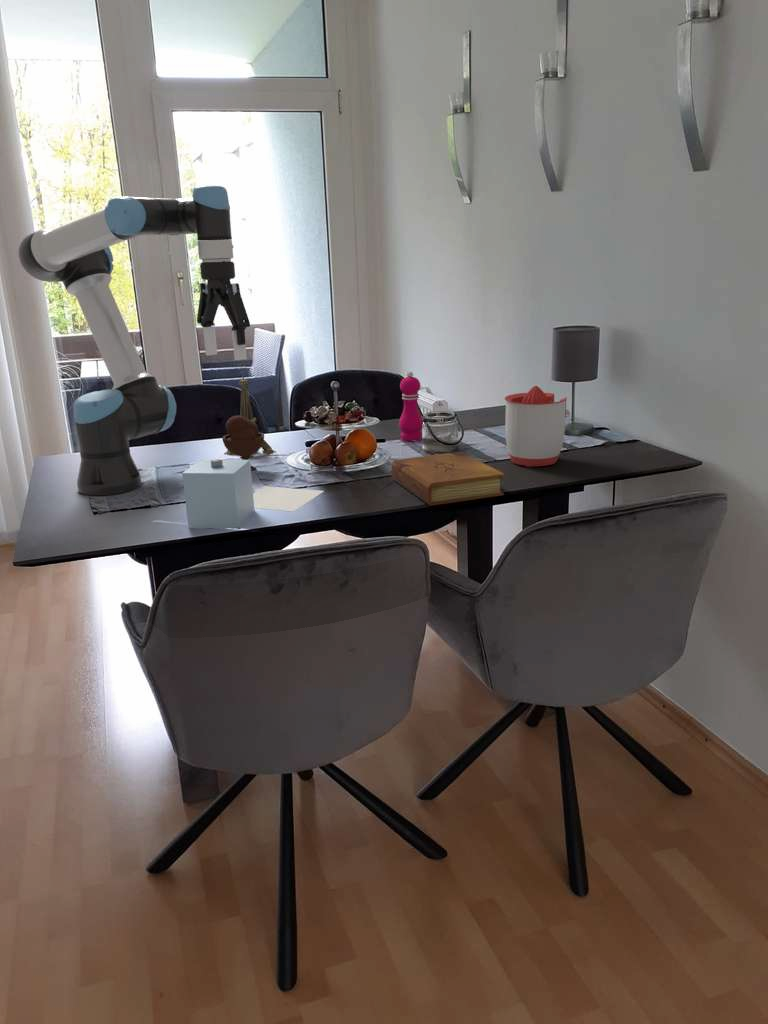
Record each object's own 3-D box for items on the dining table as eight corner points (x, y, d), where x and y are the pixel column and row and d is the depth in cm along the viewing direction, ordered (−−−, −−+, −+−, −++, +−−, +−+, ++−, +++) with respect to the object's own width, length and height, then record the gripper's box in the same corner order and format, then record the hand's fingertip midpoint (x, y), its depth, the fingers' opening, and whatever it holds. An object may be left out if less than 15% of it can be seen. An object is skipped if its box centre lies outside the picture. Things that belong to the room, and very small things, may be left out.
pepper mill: (400, 436, 245) (399, 369, 239) (424, 436, 244) (423, 369, 238) (397, 441, 238) (396, 373, 232) (422, 441, 237) (421, 373, 231)
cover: (188, 528, 170) (181, 467, 166) (207, 511, 180) (200, 454, 176) (238, 529, 168) (233, 467, 164) (254, 512, 178) (249, 454, 174)
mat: (230, 507, 182) (230, 505, 182) (264, 488, 196) (264, 486, 196) (294, 513, 177) (293, 511, 177) (324, 492, 191) (324, 490, 191)
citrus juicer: (582, 464, 208) (585, 386, 201) (522, 472, 202) (523, 393, 196) (550, 451, 222) (552, 378, 215) (493, 458, 216) (493, 384, 210)
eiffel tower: (253, 447, 238) (246, 361, 231) (276, 452, 231) (269, 364, 223) (223, 454, 231) (215, 366, 224) (245, 459, 224) (237, 369, 216)
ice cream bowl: (259, 477, 206) (255, 419, 201) (218, 476, 208) (213, 418, 204) (273, 466, 216) (269, 410, 211) (234, 465, 218) (229, 410, 213)
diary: (392, 482, 200) (391, 460, 198) (460, 473, 206) (460, 451, 204) (428, 507, 179) (427, 482, 177) (503, 497, 185) (504, 472, 183)
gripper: (260, 259, 173) (268, 359, 180) (205, 260, 191) (214, 351, 198) (229, 261, 169) (238, 363, 175) (176, 261, 187) (186, 354, 194)
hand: (225, 357), depth 187 cm, fingers open, 13 cm apart
